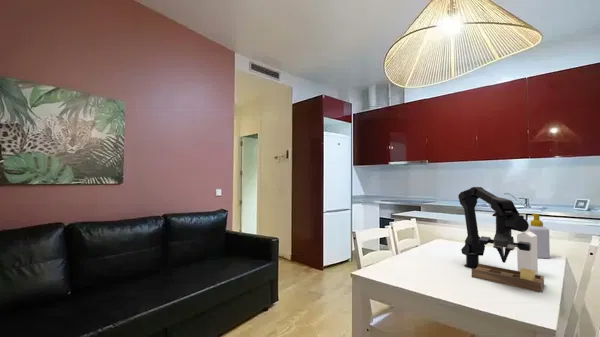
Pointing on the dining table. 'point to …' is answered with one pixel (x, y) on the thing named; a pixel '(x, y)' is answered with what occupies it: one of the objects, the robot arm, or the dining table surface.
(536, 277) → the wooden compartment tray
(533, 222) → the soap bottle
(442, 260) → the dining table surface
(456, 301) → the dining table surface
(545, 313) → the dining table surface
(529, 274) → the block
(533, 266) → the milk
